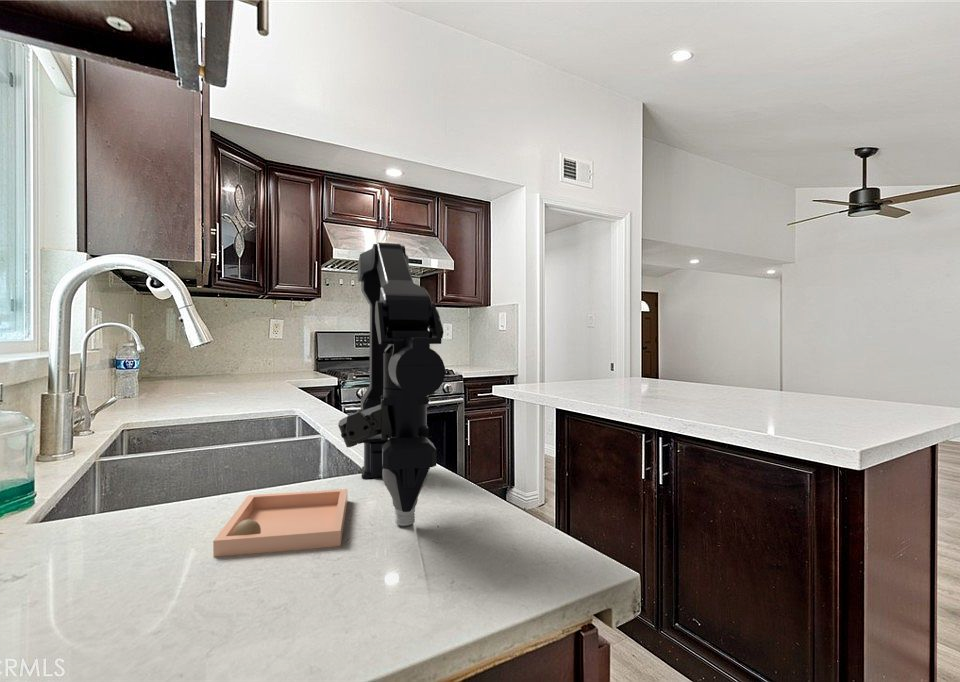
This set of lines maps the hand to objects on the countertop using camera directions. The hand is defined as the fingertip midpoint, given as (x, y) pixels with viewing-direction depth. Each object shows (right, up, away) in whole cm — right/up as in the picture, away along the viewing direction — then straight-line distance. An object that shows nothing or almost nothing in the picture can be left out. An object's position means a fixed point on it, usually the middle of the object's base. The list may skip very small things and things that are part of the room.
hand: (405, 503), depth 66 cm
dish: (-15, -3, 0) cm, 16 cm away
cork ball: (-18, -3, -6) cm, 19 cm away
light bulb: (0, -3, 0) cm, 3 cm away
